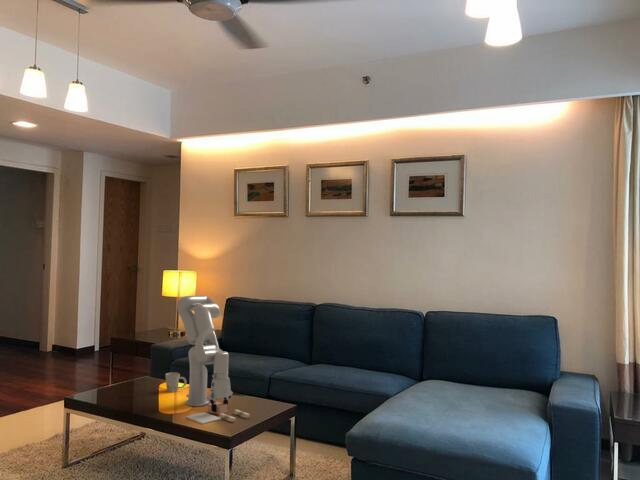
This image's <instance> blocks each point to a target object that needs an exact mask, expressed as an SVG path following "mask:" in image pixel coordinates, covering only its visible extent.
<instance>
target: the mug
mask: <svg viewBox="0 0 640 480" xmlns="http://www.w3.org/2000/svg"><path fill="white" fill-rule="evenodd" d="M164 377H165V384H166V385H165V386H166V387H165V388H166V392H168V393H176V392H177V391H178V389H183V388H185V387H186V386H187V379H186V377H184V376H181V373H180V372H176V371H175V372H167V373H165V376H164ZM180 380H182V381H183V382H184V383H183V385H182V386H179V383H180ZM175 391H176V392H175Z"/></svg>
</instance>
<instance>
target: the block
mask: <svg viewBox="0 0 640 480" xmlns="http://www.w3.org/2000/svg"><path fill="white" fill-rule="evenodd" d="M211 405H212V404H211V403H209V404H207V413H209V414H213V415H219V414H220V413H224V414H226V413H228V409H227V408H229V403H228V404H224V403H223V402H218V401H216V412H213V411H212V410H211Z"/></svg>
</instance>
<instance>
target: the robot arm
mask: <svg viewBox="0 0 640 480" xmlns="http://www.w3.org/2000/svg"><path fill="white" fill-rule="evenodd" d="M177 310H178V314H179V317H180V319H181V321H182V323H183V327H184V332H185V335H186V340H187V343H189V344H190V345H194V346H192V347H191V348H190V349H189V350H188V359H189V360H188V361H189V381H188V382H189V386H188V387H189V388H188V394H186V396H185V397H187V400H186V401H185V404H186V406H188V407H202V406H203V407H204V406H208V404H212V405H211V410H212V411H213V412H216V402H218V400H220V399H223V401H222V403H224V404H228V405H229V401H230V400H231V398H232V395H233V394H234V392H233V391H232V390H231V380H230V377H229V362H230V361H229V359H230V357H229V356H230V355H229V352H228V351H223V349H221V348H220V347H219V346H220V345H219V343H218V338H217V335H216V333H215V332H216V331H215V330H216V329H215V325H214V321H213V319H217V318H218V317H219V316H220V314H221V310H220V307H219V305H218V303H216V301H214V300H213V299H212V298H210V297H209V296H207V295H185V296H182V297H181V298H180V299H179V300H178V302H177ZM207 365H213V374H211V377H212V379H211V386H210V392H209V394H208V395H207V393H208V369H207ZM228 408H229V407H228ZM228 408H227V410H228Z"/></svg>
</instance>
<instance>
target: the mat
mask: <svg viewBox="0 0 640 480" xmlns="http://www.w3.org/2000/svg"><path fill="white" fill-rule="evenodd" d="M185 418H186V419H188V420H191V421H194V422H196V423H199V424H201V425H204V424H205V425H206V424H209V423H213V422H217V421H221V420H222V418H219V416H217V415H215V414H212V413H210V412H207V411H206V412H205V411H203V412H199V413H194V414H191V415H187V416H185Z"/></svg>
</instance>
